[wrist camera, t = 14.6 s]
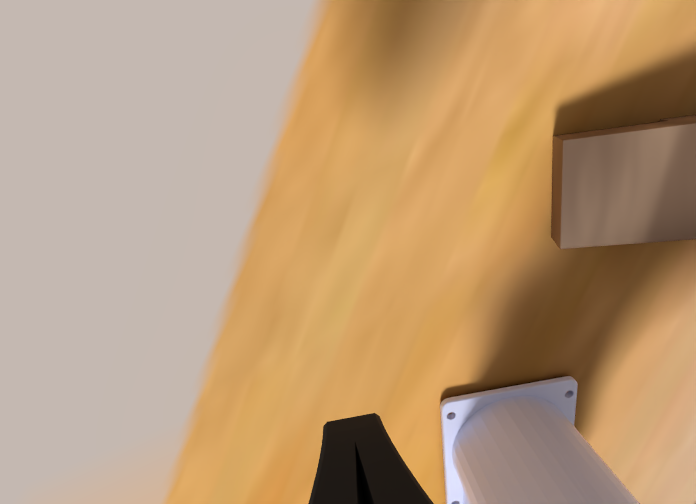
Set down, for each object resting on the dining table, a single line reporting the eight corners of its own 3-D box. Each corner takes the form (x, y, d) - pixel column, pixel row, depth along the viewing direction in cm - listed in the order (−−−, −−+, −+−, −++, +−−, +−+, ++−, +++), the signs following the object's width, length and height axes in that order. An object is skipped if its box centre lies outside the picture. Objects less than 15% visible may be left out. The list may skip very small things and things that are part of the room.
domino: (553, 136, 19) (762, 108, 17) (551, 237, 21) (740, 222, 19) (563, 140, 17) (793, 110, 16) (560, 249, 19) (766, 233, 17)
